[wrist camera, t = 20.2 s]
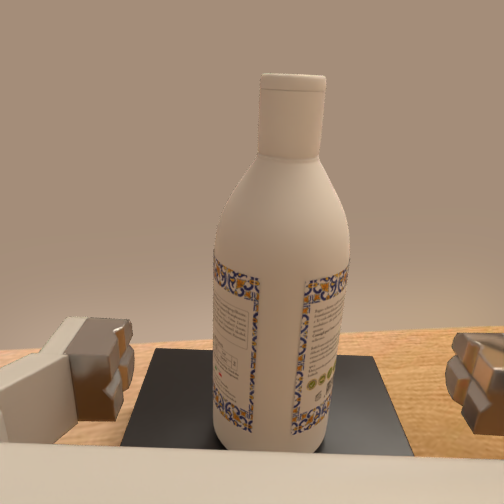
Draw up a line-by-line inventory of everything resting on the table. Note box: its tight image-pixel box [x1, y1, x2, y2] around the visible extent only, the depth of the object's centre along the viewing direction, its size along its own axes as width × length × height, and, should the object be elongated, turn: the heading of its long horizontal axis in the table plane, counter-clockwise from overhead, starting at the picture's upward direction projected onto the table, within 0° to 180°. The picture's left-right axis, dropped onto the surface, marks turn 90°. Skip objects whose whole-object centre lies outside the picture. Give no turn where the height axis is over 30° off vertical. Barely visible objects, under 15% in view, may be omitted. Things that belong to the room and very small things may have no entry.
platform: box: [120, 348, 415, 457], centre depth 28 cm, size 17×15×5 cm
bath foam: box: [213, 73, 350, 453], centre depth 23 cm, size 7×7×20 cm
